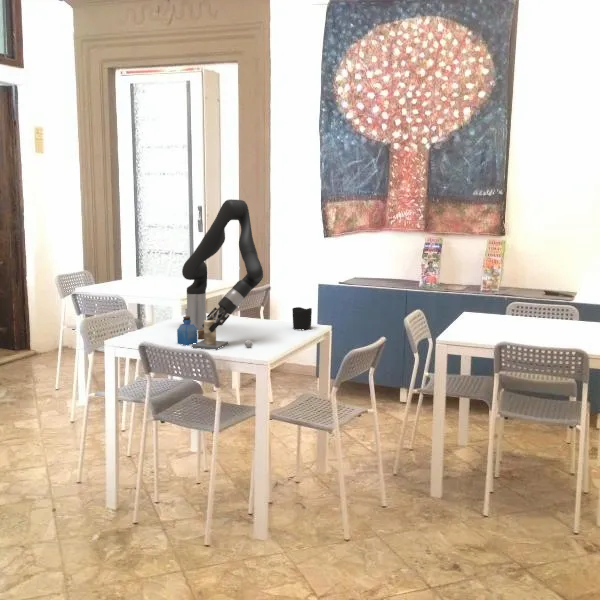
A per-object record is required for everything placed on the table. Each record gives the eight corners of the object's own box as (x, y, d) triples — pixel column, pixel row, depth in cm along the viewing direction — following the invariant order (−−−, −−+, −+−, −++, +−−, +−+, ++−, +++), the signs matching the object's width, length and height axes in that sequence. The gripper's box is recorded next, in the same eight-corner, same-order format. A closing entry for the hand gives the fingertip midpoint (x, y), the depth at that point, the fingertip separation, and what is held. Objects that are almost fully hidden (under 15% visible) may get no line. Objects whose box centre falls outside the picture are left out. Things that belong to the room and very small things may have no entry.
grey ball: (243, 347, 317) (243, 340, 317) (246, 346, 320) (246, 339, 320) (250, 348, 316) (250, 341, 316) (253, 346, 319) (253, 339, 319)
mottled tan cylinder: (207, 344, 318) (207, 322, 316) (204, 343, 321) (203, 320, 320) (216, 343, 320) (215, 321, 318) (212, 342, 323) (212, 319, 322)
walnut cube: (198, 339, 335) (197, 330, 335) (199, 337, 339) (199, 329, 339) (206, 339, 335) (206, 331, 334) (208, 337, 339) (208, 329, 338)
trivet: (191, 348, 317) (191, 345, 317) (203, 342, 328) (203, 339, 328) (216, 350, 313) (216, 347, 313) (228, 344, 325) (228, 341, 324)
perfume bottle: (188, 341, 331) (187, 315, 329) (197, 343, 327) (196, 316, 325) (177, 343, 326) (176, 317, 324) (186, 345, 322) (185, 318, 320)
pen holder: (297, 331, 354) (297, 310, 352) (289, 327, 362) (289, 307, 360) (314, 329, 358) (315, 309, 356) (306, 326, 366) (306, 306, 364)
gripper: (219, 293, 327) (195, 321, 324) (231, 298, 315) (206, 326, 311) (230, 304, 330) (207, 331, 327) (242, 309, 318) (218, 337, 314)
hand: (206, 329), depth 319 cm, fingers open, 8 cm apart
